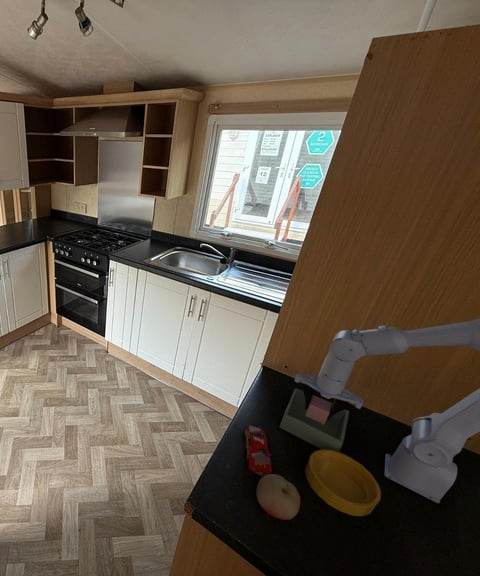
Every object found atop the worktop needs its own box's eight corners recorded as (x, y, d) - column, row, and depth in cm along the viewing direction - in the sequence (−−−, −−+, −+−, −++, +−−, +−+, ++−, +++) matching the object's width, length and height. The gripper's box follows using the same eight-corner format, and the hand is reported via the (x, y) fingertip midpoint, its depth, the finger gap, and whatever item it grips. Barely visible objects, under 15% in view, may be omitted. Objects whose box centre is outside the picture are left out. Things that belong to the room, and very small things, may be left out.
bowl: (375, 484, 73) (382, 473, 71) (371, 532, 64) (379, 521, 63) (310, 450, 81) (315, 439, 79) (299, 488, 72) (304, 477, 70)
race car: (271, 481, 74) (275, 471, 72) (246, 474, 75) (250, 463, 74) (264, 435, 85) (268, 425, 83) (242, 430, 87) (246, 420, 85)
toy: (326, 414, 86) (332, 403, 84) (324, 424, 83) (329, 412, 81) (308, 406, 88) (313, 395, 86) (305, 415, 85) (310, 404, 83)
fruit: (286, 536, 64) (297, 514, 60) (247, 506, 69) (255, 484, 65) (298, 508, 68) (310, 485, 65) (261, 481, 74) (269, 459, 70)
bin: (342, 425, 88) (349, 411, 86) (335, 457, 79) (343, 443, 77) (290, 401, 96) (295, 388, 93) (278, 428, 87) (284, 414, 85)
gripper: (298, 368, 81) (283, 406, 87) (369, 397, 72) (347, 437, 78) (304, 356, 85) (290, 392, 91) (371, 381, 77) (351, 420, 83)
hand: (317, 412), depth 85 cm, fingers closed on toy, 4 cm apart
